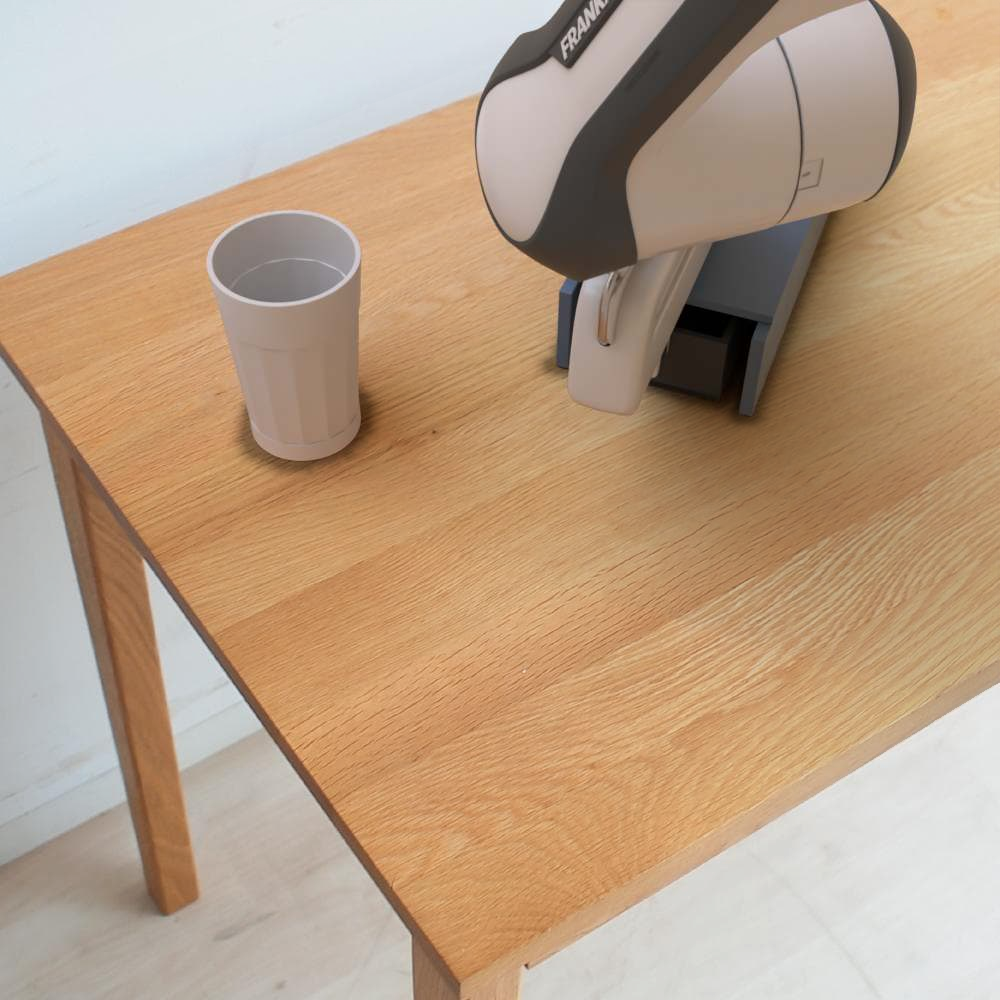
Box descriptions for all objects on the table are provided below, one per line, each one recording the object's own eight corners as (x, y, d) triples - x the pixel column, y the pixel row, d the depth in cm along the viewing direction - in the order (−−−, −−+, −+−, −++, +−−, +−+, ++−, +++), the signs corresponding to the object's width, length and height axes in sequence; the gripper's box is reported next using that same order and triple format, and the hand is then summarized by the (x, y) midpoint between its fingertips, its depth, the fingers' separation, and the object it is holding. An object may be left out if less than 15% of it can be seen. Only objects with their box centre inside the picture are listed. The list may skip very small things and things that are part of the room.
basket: (718, 403, 85) (727, 345, 81) (589, 370, 87) (592, 312, 83) (759, 300, 91) (769, 242, 88) (638, 271, 93) (643, 214, 90)
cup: (370, 471, 81) (356, 306, 72) (228, 471, 81) (195, 305, 72) (379, 374, 86) (366, 209, 77) (245, 374, 86) (217, 209, 77)
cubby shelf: (751, 417, 84) (767, 333, 79) (555, 366, 87) (558, 282, 82) (853, 150, 102) (870, 69, 97) (687, 116, 105) (697, 35, 100)
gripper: (671, 297, 65) (647, 502, 76) (777, 70, 78) (744, 272, 88) (540, 265, 67) (534, 471, 77) (665, 48, 80) (646, 249, 90)
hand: (647, 363), depth 83 cm, fingers closed
